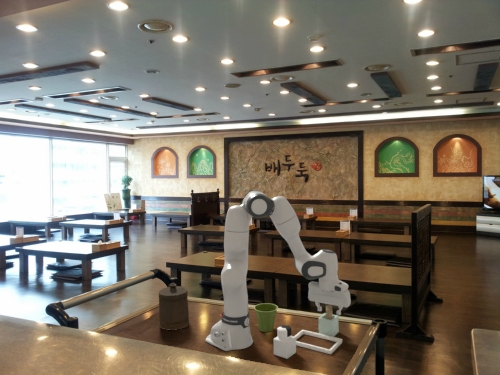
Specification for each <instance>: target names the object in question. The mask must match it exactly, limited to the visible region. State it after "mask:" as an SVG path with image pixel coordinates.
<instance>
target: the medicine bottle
mask: <svg viewBox="0 0 500 375" xmlns="http://www.w3.org/2000/svg"><path fill="white" fill-rule="evenodd" d="M276 332H277V333H276V334H277V336H276V337H274V338H273V339H272V341H273V355H275V356H277V357H281V358H283V359H286V360H288V359H290V358H291V357H292V356H293V355H294V354H296V353H297V345H296V341H297V340H296V337H294V336H295V335H294V336H293V335H292V327H291V326H290V325H287V324H282V325H279V326H277V328H276Z"/></svg>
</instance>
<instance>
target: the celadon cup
mask: <svg viewBox="0 0 500 375" xmlns="http://www.w3.org/2000/svg"><path fill="white" fill-rule="evenodd" d="M332 318H333V319H332V320H330V319H326V312H324V313H322V314H321V315H320V316H319V317H318V318H317V319H318V333H319V334H323V335H328V336H332V337H336V335H337V334H339V332H340V330H339V325H340V324H339V315H337V314H332Z"/></svg>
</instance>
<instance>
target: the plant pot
mask: <svg viewBox="0 0 500 375" xmlns="http://www.w3.org/2000/svg"><path fill="white" fill-rule="evenodd" d="M253 309H254V310H255V316H256V318H257V319H256V320H257V326H258V330H259V332H262V333H267V332H269V333H271V332H272V331H274V329H275V328H274V327H275V323H276V322H275V321H276V314H277V311H278V309H279V306H278V305H276V304H275V303H270V302H268V303H267V302H265V303H258V304H256V305H254V306H253Z"/></svg>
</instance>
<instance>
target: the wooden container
mask: <svg viewBox="0 0 500 375" xmlns="http://www.w3.org/2000/svg"><path fill="white" fill-rule="evenodd" d="M188 296H189V294H188V288H187V287H185V286H181V285H179V286H178V285H177V284H176V283H175V282H171V283H169V286H166V287H164V288H161V289H160V290H158V312H159V316H158V317H159V327H160V326H161V327H162V328H165V329H170V330H175V329H180V330H183V329H185V328H187V327H188V326H189V324H190V317H189V315H190V314H189V301H188V300H189V298H188ZM182 328H183V329H182ZM175 331H176V330H175Z"/></svg>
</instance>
